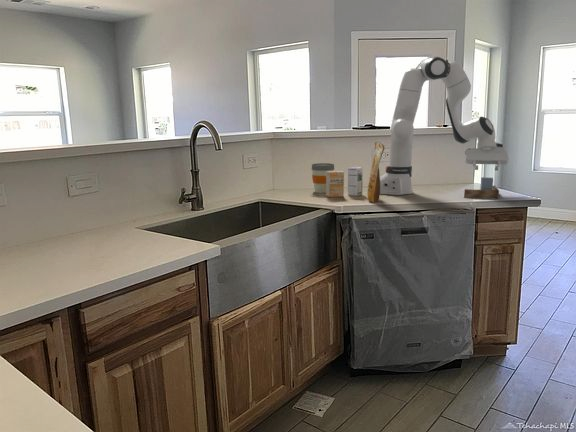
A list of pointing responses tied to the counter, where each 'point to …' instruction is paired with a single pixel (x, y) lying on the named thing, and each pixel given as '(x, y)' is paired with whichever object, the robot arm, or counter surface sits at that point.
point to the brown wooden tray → (482, 193)
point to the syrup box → (355, 181)
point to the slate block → (486, 183)
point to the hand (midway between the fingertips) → (486, 169)
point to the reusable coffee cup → (320, 175)
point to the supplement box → (334, 183)
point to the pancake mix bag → (375, 174)
